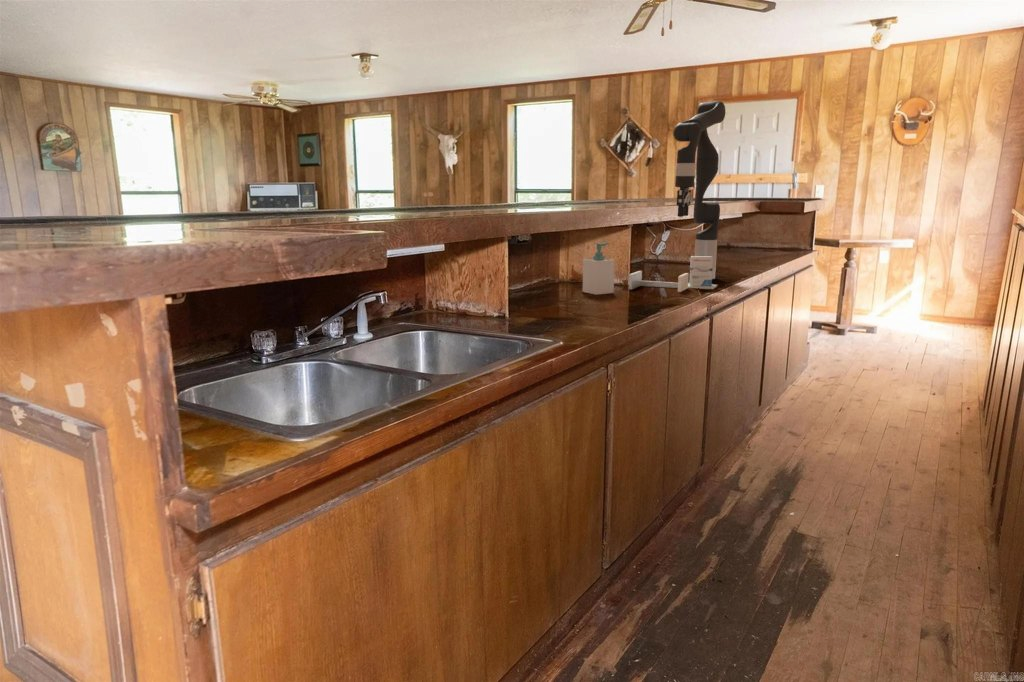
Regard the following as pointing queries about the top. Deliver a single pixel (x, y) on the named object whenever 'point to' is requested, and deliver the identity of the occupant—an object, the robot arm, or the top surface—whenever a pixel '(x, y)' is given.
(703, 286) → the mat
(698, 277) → the ink box
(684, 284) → the tie jaw
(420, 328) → the top surface
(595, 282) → the soap bottle
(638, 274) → the clamp base
